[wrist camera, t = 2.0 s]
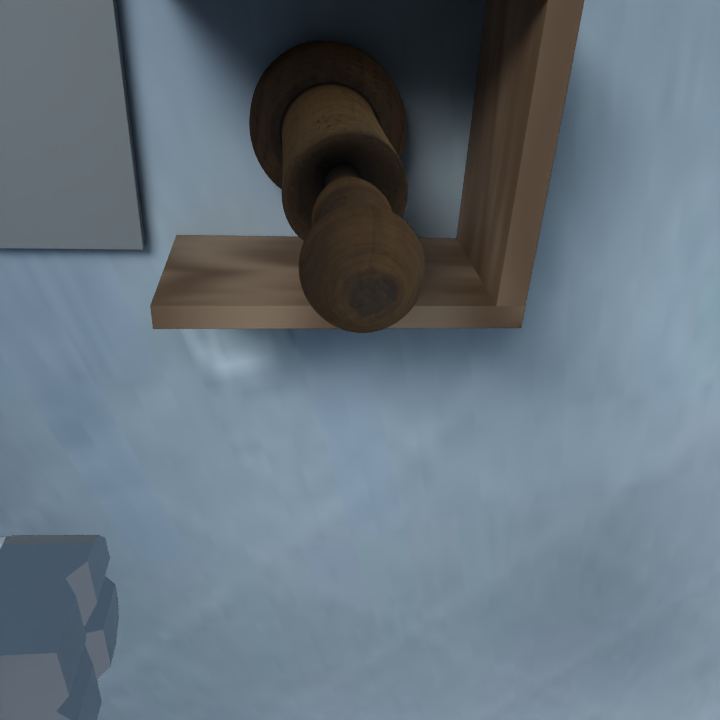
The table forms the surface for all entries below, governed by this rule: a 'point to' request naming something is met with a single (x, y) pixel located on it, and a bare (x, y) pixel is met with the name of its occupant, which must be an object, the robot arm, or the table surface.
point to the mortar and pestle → (341, 181)
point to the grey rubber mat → (65, 129)
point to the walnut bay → (442, 255)
